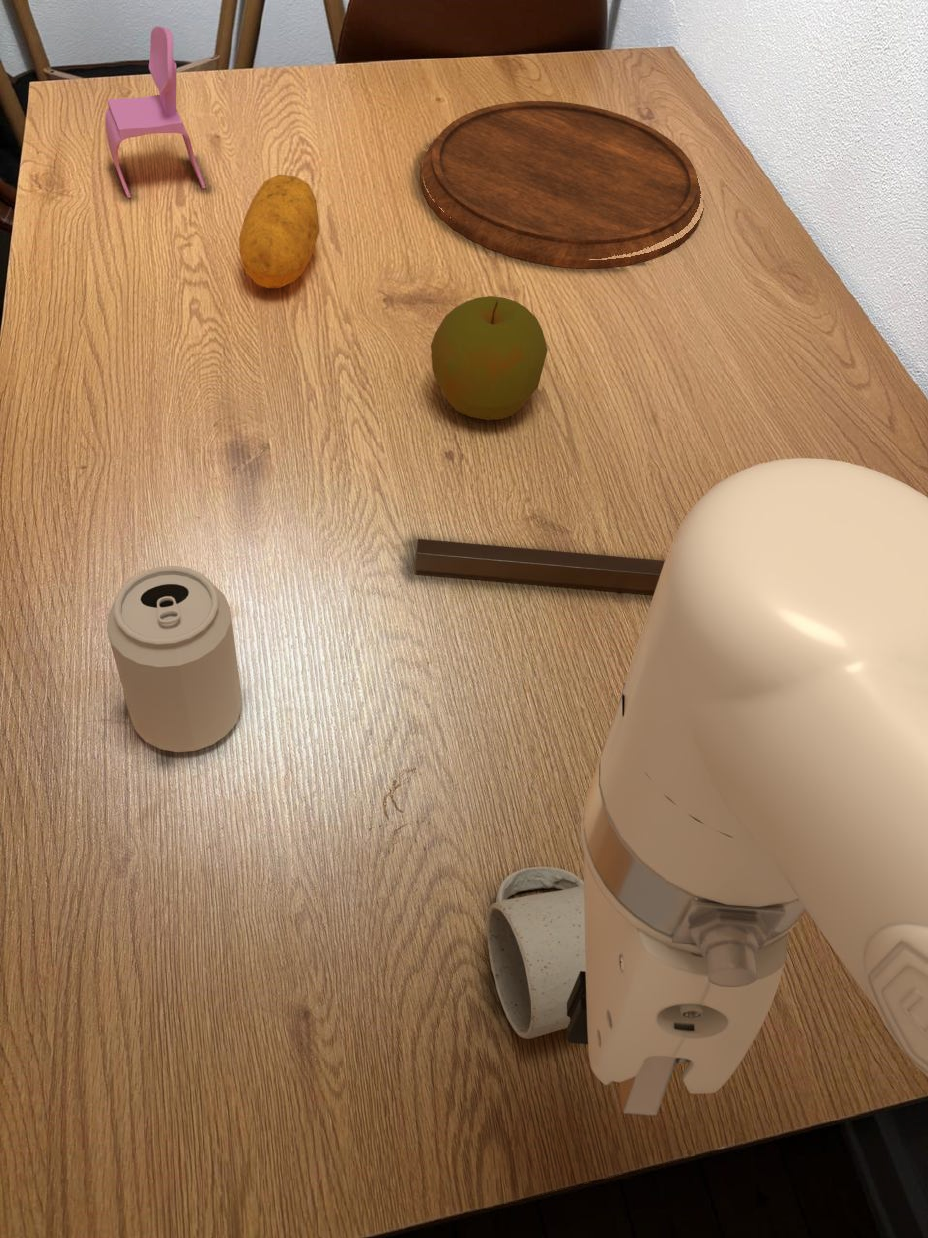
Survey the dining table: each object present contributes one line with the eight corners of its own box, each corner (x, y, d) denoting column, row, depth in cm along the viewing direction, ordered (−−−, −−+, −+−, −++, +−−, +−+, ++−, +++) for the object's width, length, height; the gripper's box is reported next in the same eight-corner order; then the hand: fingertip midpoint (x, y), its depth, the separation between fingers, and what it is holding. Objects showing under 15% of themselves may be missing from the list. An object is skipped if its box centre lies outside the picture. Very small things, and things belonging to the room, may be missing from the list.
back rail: (669, 596, 87) (676, 576, 85) (414, 574, 86) (416, 553, 84) (666, 566, 89) (673, 546, 87) (417, 544, 88) (419, 523, 86)
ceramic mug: (649, 1020, 65) (678, 967, 60) (519, 1060, 63) (536, 1009, 57) (582, 864, 72) (602, 801, 66) (462, 895, 70) (472, 834, 64)
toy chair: (110, 163, 120) (84, 18, 109) (191, 154, 123) (174, 11, 111) (124, 203, 116) (99, 56, 104) (208, 193, 118) (193, 48, 107)
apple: (521, 364, 104) (537, 261, 96) (551, 433, 98) (570, 329, 90) (417, 374, 102) (423, 269, 93) (441, 444, 96) (450, 339, 88)
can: (232, 660, 80) (217, 546, 70) (252, 745, 75) (239, 635, 66) (125, 681, 78) (95, 567, 68) (139, 770, 73) (109, 660, 64)
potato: (330, 230, 116) (329, 166, 110) (304, 311, 106) (301, 245, 101) (261, 221, 116) (257, 157, 110) (229, 302, 106) (223, 236, 101)
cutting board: (624, 305, 111) (629, 283, 109) (363, 196, 120) (363, 174, 118) (746, 177, 130) (752, 156, 128) (511, 91, 139) (514, 70, 137)
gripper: (877, 1082, 29) (703, 1226, 43) (796, 637, 39) (675, 875, 53) (595, 1061, 29) (513, 1213, 43) (582, 618, 38) (518, 862, 53)
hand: (602, 1026), depth 48 cm, fingers closed
